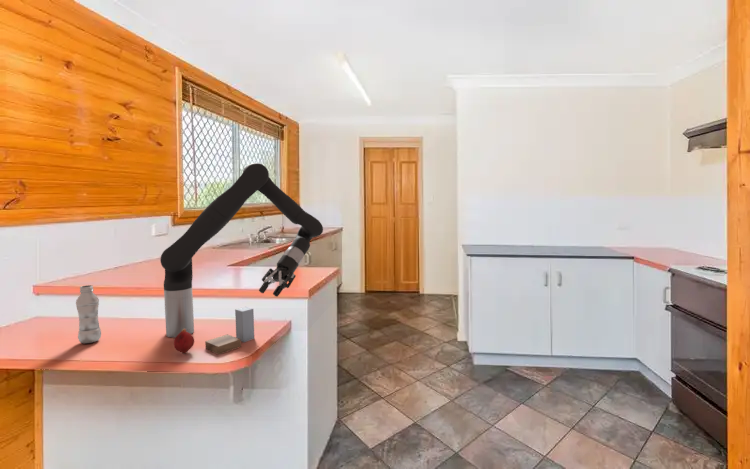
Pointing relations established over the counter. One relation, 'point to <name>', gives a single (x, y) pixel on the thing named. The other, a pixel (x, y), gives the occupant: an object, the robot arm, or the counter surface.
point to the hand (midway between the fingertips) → (267, 293)
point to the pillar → (244, 323)
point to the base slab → (223, 344)
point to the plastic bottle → (88, 315)
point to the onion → (183, 341)
